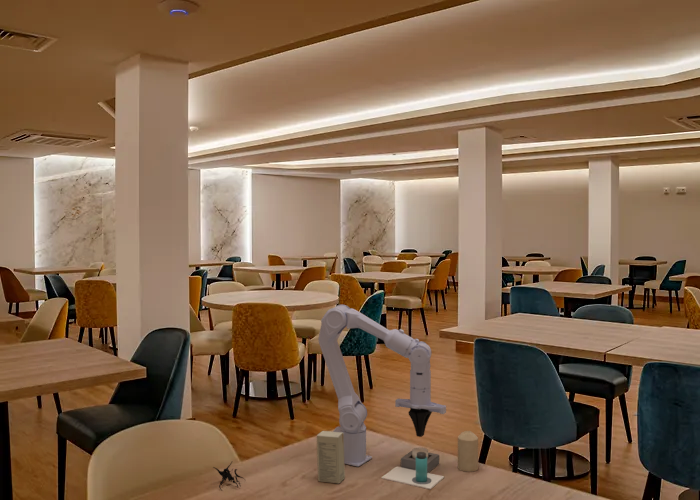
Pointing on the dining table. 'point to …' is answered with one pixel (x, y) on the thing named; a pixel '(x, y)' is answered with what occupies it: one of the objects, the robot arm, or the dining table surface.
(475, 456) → the candle
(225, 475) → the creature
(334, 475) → the skincare box
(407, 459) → the button housing
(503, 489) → the dining table surface
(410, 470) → the paper
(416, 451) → the button
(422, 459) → the bottle
